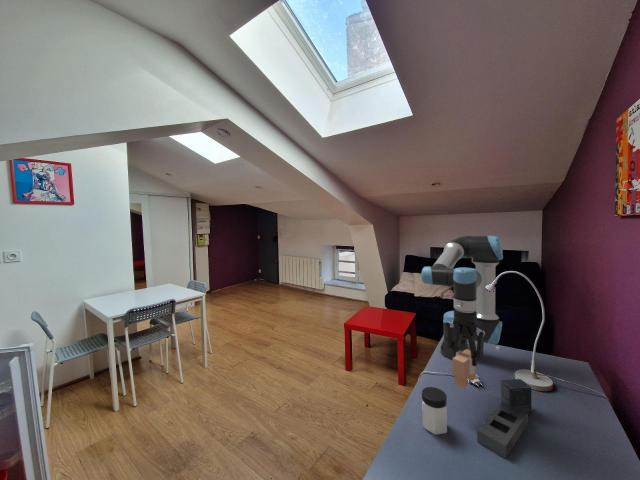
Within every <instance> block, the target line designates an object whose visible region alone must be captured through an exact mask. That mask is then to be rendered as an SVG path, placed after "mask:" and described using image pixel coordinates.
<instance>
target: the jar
mask: <svg viewBox="0 0 640 480" xmlns="http://www.w3.org/2000/svg"><path fill="white" fill-rule="evenodd" d="M447 398H448V397H447V394H446V392H445V391H443V390H442V389H440V388H437V387H433V386H428V387H424V388H422V390H421V400H422V403H421V415H422V428H423V429H425V430H426V431H428V432H430V433H431V434H433V435H435V436H436V435H442V434H447V433H448V420H447V418H448V413H447V412H448V410H447V409H448V406H447V403H448V401H447Z"/></svg>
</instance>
